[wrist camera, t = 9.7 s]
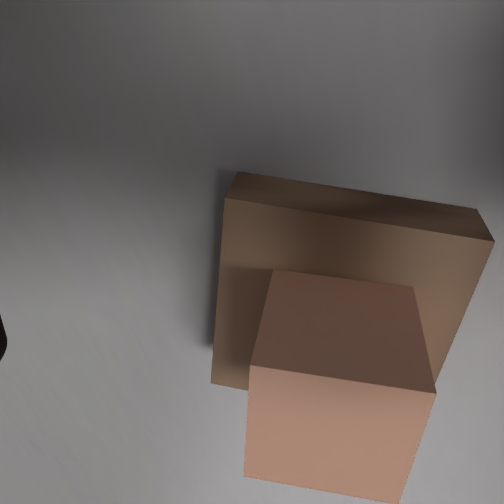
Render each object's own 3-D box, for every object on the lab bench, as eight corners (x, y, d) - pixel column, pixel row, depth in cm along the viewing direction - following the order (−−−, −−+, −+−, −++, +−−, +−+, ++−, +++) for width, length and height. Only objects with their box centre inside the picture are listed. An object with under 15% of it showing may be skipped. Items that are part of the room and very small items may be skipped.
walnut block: (473, 203, 18) (495, 241, 15) (409, 373, 23) (417, 424, 20) (240, 167, 19) (224, 197, 16) (225, 338, 23) (210, 382, 21)
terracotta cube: (413, 287, 17) (436, 393, 13) (386, 387, 19) (398, 504, 15) (273, 269, 17) (250, 365, 13) (265, 369, 20) (243, 476, 16)
